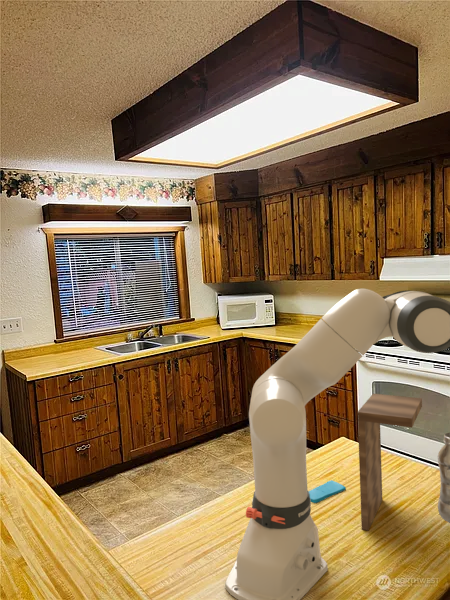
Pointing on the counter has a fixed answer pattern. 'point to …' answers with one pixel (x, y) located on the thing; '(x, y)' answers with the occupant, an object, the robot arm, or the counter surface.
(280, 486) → the robot arm
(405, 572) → the counter surface
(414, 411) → the counter shelf
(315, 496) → the sponge
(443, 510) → the plastic bottle
